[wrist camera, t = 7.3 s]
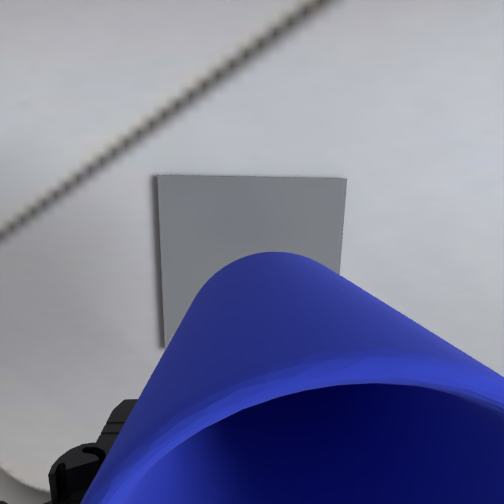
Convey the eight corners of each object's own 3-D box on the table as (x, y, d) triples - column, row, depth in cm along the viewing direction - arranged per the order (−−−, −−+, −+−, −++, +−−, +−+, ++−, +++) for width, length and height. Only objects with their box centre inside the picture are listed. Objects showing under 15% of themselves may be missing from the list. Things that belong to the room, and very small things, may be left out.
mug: (269, 488, 16) (324, 942, 7) (137, 287, 14) (-93, 553, 4) (418, 415, 16) (710, 786, 6) (312, 193, 13) (532, 235, 4)
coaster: (158, 175, 28) (157, 175, 27) (344, 178, 29) (347, 178, 28) (166, 348, 31) (164, 351, 31) (331, 346, 32) (333, 349, 32)
